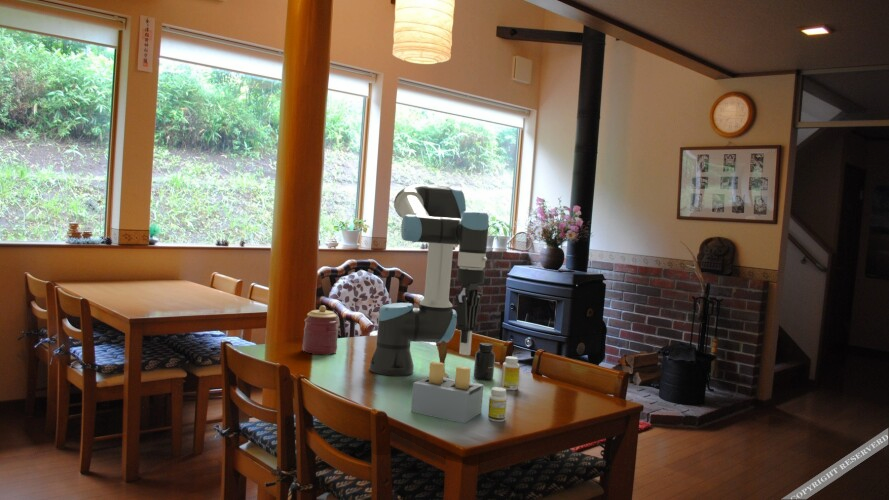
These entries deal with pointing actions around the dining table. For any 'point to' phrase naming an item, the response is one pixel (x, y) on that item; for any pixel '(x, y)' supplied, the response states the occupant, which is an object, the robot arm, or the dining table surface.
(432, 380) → the peg
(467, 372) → the peg
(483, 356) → the supplement bottle
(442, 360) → the hand bell
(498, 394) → the supplement bottle
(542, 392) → the dining table surface
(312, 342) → the canister
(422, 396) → the socket block
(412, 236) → the robot arm
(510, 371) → the supplement bottle
